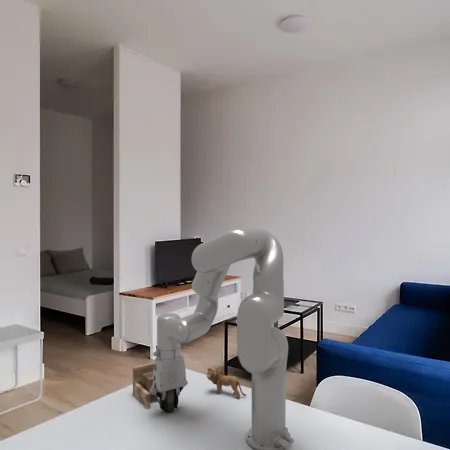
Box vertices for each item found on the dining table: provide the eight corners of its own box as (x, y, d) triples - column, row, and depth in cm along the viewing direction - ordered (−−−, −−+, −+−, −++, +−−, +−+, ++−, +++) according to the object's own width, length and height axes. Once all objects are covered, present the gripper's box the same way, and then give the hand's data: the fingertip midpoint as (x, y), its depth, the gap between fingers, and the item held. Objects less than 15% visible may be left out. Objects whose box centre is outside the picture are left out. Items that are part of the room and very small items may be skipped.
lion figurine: (204, 394, 142) (204, 369, 142) (210, 388, 147) (210, 363, 147) (244, 400, 137) (244, 374, 137) (248, 394, 142) (248, 368, 142)
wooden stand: (175, 400, 138) (175, 371, 137) (147, 408, 132) (146, 378, 131) (159, 387, 147) (159, 360, 147) (132, 395, 141) (132, 366, 141)
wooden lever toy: (179, 410, 130) (179, 385, 130) (163, 415, 127) (162, 390, 127) (158, 392, 144) (157, 370, 143) (142, 396, 140) (142, 374, 140)
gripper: (150, 361, 122) (150, 421, 122) (196, 350, 131) (197, 406, 132) (140, 354, 128) (140, 411, 128) (185, 344, 137) (185, 397, 138)
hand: (169, 408), depth 130 cm, fingers closed on wooden lever toy, 3 cm apart
